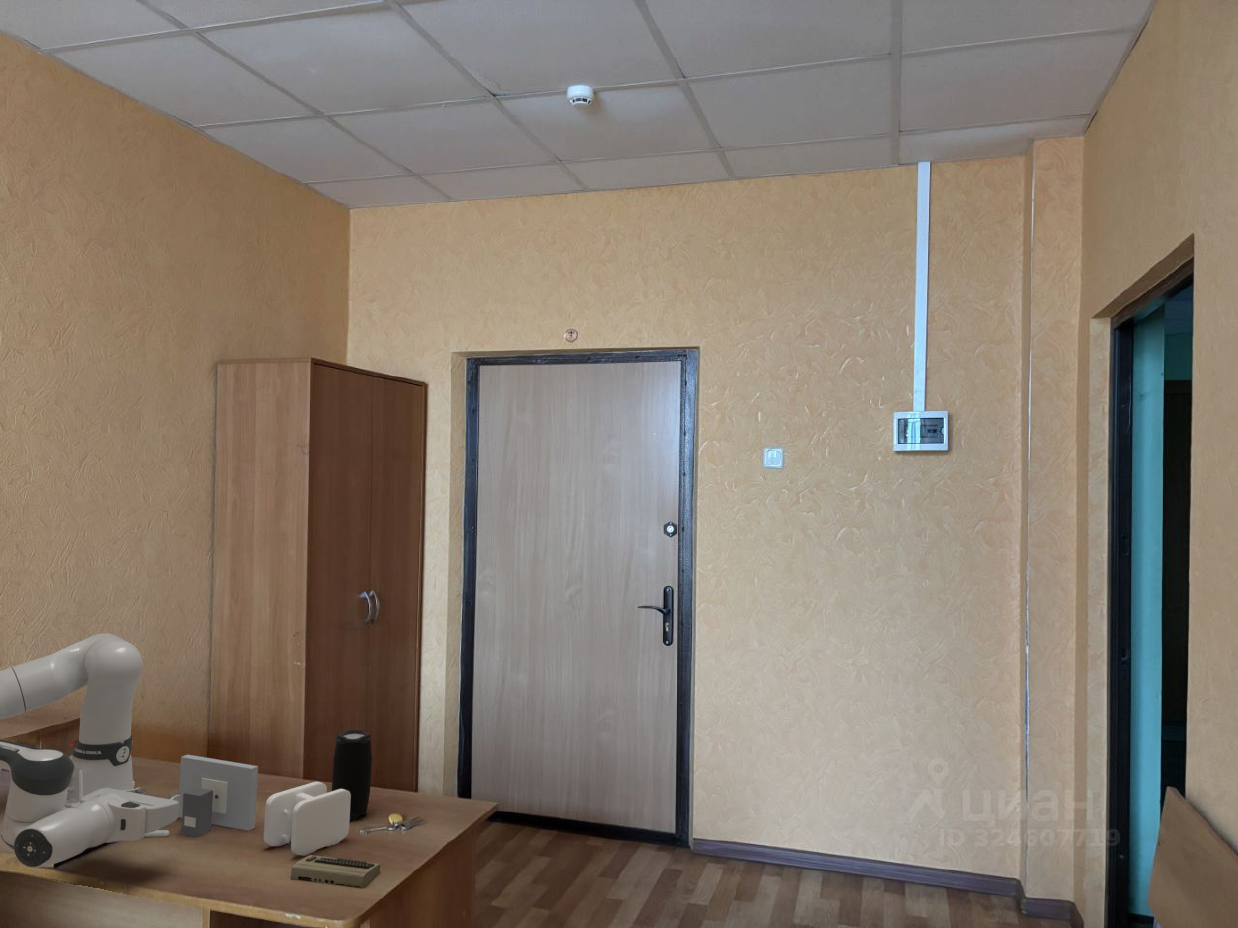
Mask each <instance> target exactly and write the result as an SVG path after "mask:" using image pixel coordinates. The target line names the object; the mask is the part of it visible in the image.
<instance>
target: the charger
mask: <svg viewBox="0 0 1238 928" xmlns="http://www.w3.org/2000/svg"><path fill="white" fill-rule="evenodd" d="M212 800H213V790H208V789H203V788H194V789H192V790H190V791H187V792H185V793H183V811H182V818H181V829H180V831H181V832H180V834H182V835H186V836H192V837H196V838H197V837H201V836H202V835H204V834H207V833H209V832H210V831H212V824H211V819H212Z"/></svg>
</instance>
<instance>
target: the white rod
mask: <svg viewBox="0 0 1238 928" xmlns="http://www.w3.org/2000/svg"><path fill="white" fill-rule="evenodd" d="M169 835H170V831H169V830H168V829H167V830H166V829H159V830H156V831H154V832H150V833H144V837H143V838H158V837H159V838H163V837H164V838H165V837H169Z"/></svg>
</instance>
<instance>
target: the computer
mask: <svg viewBox="0 0 1238 928" xmlns="http://www.w3.org/2000/svg"><path fill="white" fill-rule="evenodd" d="M379 872H381V864H380V863H375V862H368V861H361V860H354V859H346V858H339V857H337V858H336V857H329V856H320V855H312V854H308V855H306V857H305V856H304V858H302V859H300V860H298V861H296V863H294V864H293V865H292V867H291V872H290V880H295V881H296V880H297V881H299V880H300V878H301V879H302V878H303V879H304V880H309V879H310V880H311V883H319V884H326V885H334V886H335V885H339V886H344V887H348V886H349V887H352V886H354V887H353V888H360V889H364V888H365V887H366V886H368V885H369V883H371V882H372V880H374V878H375V877H377V875H379V874H380V873H379ZM378 873H379V874H378ZM347 885H348V886H347Z"/></svg>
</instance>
